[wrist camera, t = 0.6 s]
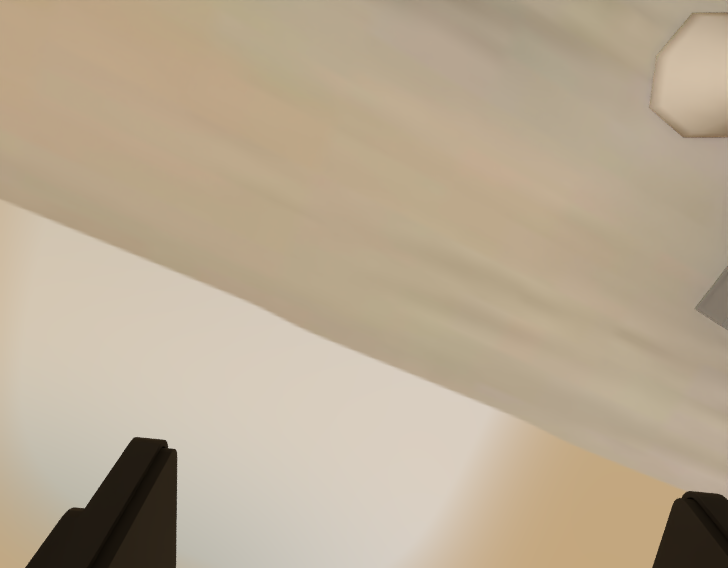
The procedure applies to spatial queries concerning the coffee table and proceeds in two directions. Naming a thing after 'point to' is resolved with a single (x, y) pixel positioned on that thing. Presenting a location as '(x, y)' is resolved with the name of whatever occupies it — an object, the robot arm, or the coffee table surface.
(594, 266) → the coffee table surface
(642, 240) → the coffee table surface
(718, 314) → the tray
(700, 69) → the flask
